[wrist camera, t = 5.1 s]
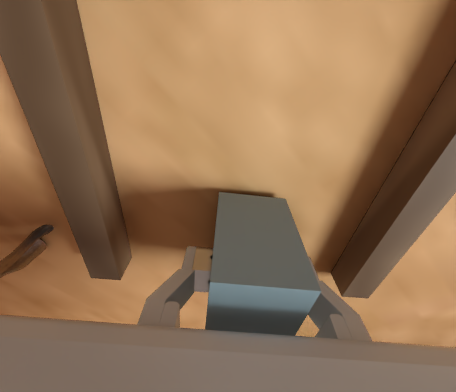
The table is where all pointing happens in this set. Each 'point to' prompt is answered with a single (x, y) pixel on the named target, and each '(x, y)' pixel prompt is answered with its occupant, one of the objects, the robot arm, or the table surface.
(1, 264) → the lion figurine
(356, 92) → the table surface
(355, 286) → the stop channel
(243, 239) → the block
